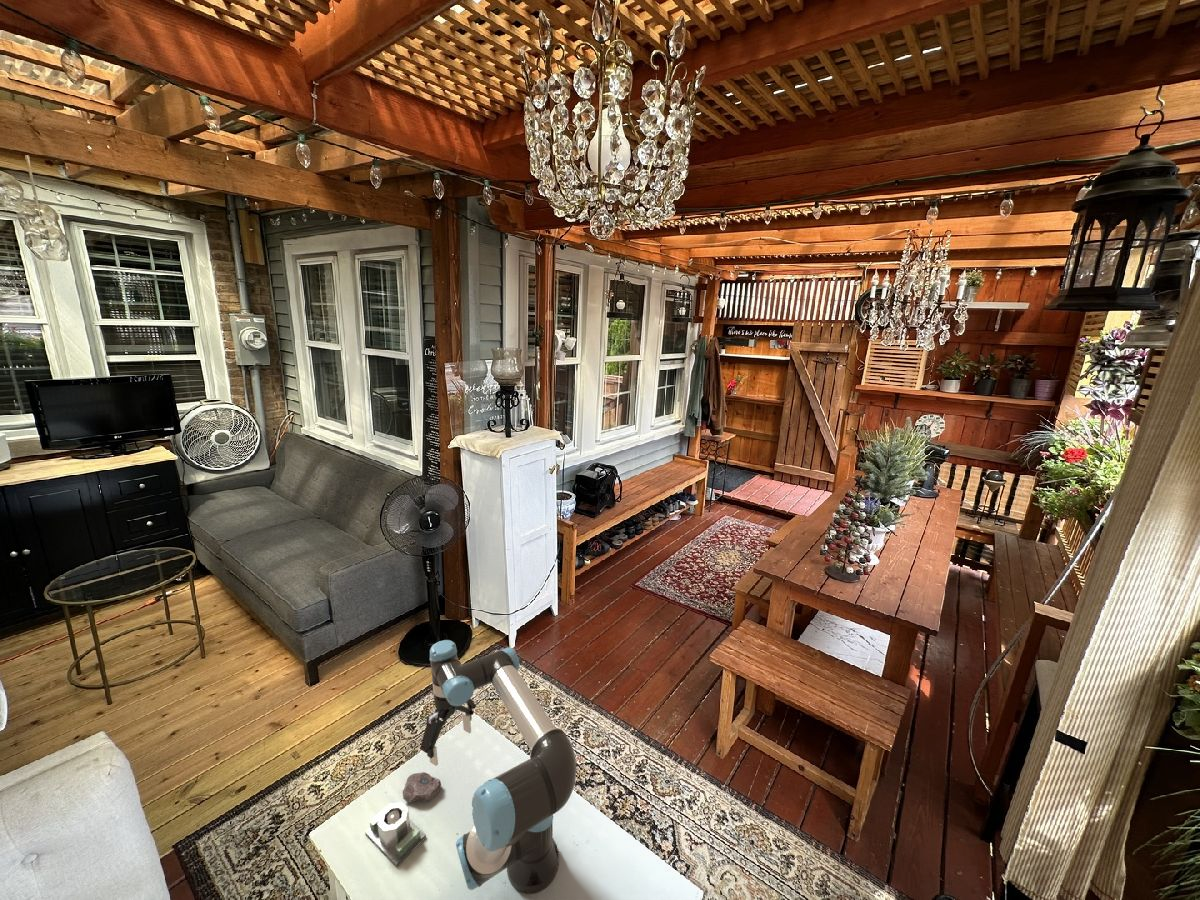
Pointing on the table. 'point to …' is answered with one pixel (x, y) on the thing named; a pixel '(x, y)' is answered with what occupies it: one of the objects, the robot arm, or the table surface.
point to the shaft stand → (404, 846)
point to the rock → (421, 787)
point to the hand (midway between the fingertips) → (451, 746)
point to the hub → (393, 825)
